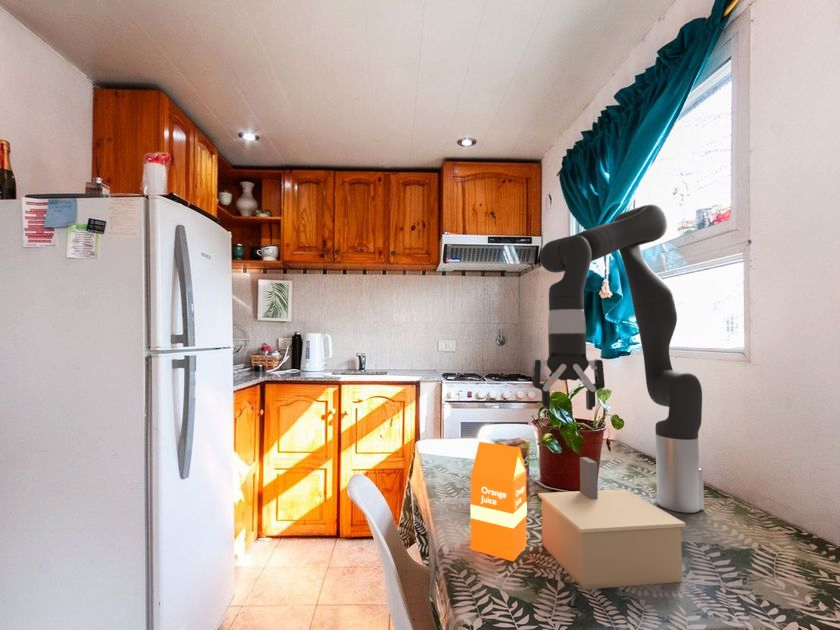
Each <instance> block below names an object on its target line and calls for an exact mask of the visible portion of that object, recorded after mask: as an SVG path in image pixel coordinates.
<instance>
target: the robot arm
mask: <svg viewBox="0 0 840 630" xmlns="http://www.w3.org/2000/svg"><path fill="white" fill-rule="evenodd" d="M667 229H668V219H667V216H666V214H665V211H664V210H663V209H662V207H660V206H658V205H656V204H645V205H642V206H639V207H636V208H633V209H630V210H627V211H623V212H621V213H619V214H617V215H616V216H615V219H614V221H613V222H609V223H608V222H607V223H605V224H600V225H597V226H594V227H591V228H588V229H585V230H583V231H580V232H579V233H575V234H572V235H569V236H565V237H561V238H557V239H553V240H551V241H548V242H547V243H545V244H544V246H543V247H542V248H541V250H540V253H539V261H540V264H541V266H542V268H544V269H545V270H546V271H548V272H550V273H553V274H554V273H563V272H564V273H563V275H562V276H563V277H562V278H561V279H560V280H559V281H557V282H555V283H552V284H551V285H550V286H549V289H548V317H547V318H548V319H547V330H548V332H547V335H548V336H547V338H548V340H547V341H548V344H547V345H548V357H547V359H545V360H544V359H538V358H537V359H533V362H532V363H533V364H532V379H531V380H532V383H531V385H532V387H534V388H535V389H538V390H540V391H541V404H542V406H543V407H544V408H545V409H546V410H548V411H549V410H551V392H550V388H551V387H552V386H553V385H554V384H555V383H556V382H557V381H558V380H560V381H568V380H570V381H577V380H579V381H580V383H581V384H582V385H583V386H584V387H585V389H586V391H585V402H586V403H585V407H586V410H588V411H593V408H595V407H596V392H597V391H598V390H603V389H605V386H606V385H605V384H606V382H605V373H604V372H605V371H604V362H603V359H600V358H599V359H597V358H594V359H593V360H591V359H590V360H588V357H587V332H586V331H587V325H586V316H585V305H584V304H585V301H584V299H585V298H584V296H585V295H584V292H585V286H586V282H587V279H588V275H589V271H590V266H591V262H592V261H596V260H598V259H601V258H604V257H606V256H608V255H610V254H612V253H614V252H617V251H619V254H620V257H621V261H622V263H623V267H624V270H625V273H626V277H627V281H628V286H629V290H630V297H631V301H632V302H631V303H632V307H633V311H634V316H635V320H636V323H637V328H638V333H639V339H640V342H641V343H640V344H641V348H642V355H643V363H644V373H645V384H646V389H647V392H648V395H649V397H650V399H651V400H652V401H653V402H654V403H655V404H657V405H659V406H662V407H666V408H668V415H667V418H665V419H664V420H663V419H662V420H659V421H657V422H656V423H655V425H654V426H655V429H654V431H655V457H656V458H655V459H656V460H655V463H656V464H655V465H656V467H655V468H656V503H657V504H658V506H660V507H662V508H664V509H667V510H669V511H673V512H679V513H685V514H687V513H689V514H694V513H698V512H700V511H702V510H705V496H704V492H705V491H704V470H703V469H702V468H700V454H699V453H700V452H699V450H700V449H699V431H700V429H701V426H702V418H703V417H702V414H703V413H702V410H703V388H702V385H701V383H700V380H699V378H698V377H697V376H696V375H694V374H693V373H690V372H687V371H678V370H674V369H673V366H672V363H671V357H670V344H671V341H672V338H673V335H674V332H675V330H676V326H677V322H678V314H677V308H676V305H675V300H674V295H673V292H672V290H671V289H670V287H669V286H668V284H667V283H665V281H663V279H662V278H661V277H660V276H659V275H658V274H656V273H655V272H654V271H653V269H652V268H650V266H649V265H648V264H647V262H646V260H645V258H644V256H643V253H642V249H641V245H644V244H649V243H653V242H655V241H657V240H659V239H661V238H662V237H663V236H664V235H665V234H666V232H667ZM545 366H547V368H548V369H549V370H550V371H551V372H549V374H548V375H547V377H546V378H545V380H544V382H543V383H541V373H542V372H541V371H543V370H544V369H545ZM589 366H590V369H591V370H592V371H593V374H594V383H593V382H592V381H591V379H590V378H589V377H588V375H587V374H586V373H585V372H586V370H588V367H589Z"/></svg>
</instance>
